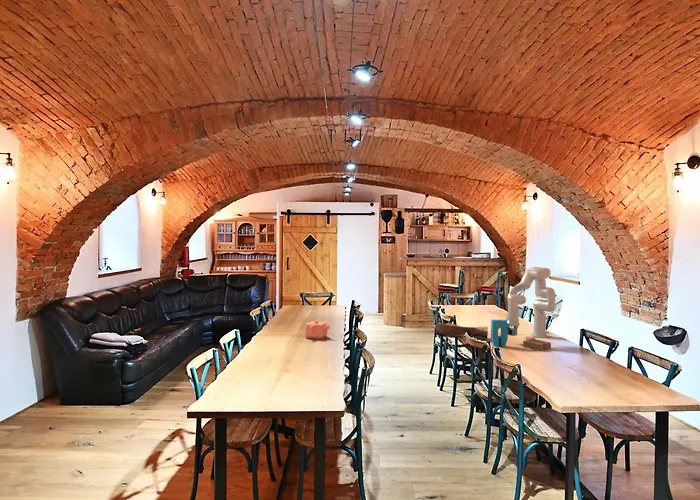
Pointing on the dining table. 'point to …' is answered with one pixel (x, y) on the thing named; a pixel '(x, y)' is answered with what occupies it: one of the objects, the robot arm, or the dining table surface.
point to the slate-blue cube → (514, 332)
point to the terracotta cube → (529, 338)
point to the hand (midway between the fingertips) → (512, 334)
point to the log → (460, 331)
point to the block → (503, 336)
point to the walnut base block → (536, 345)
